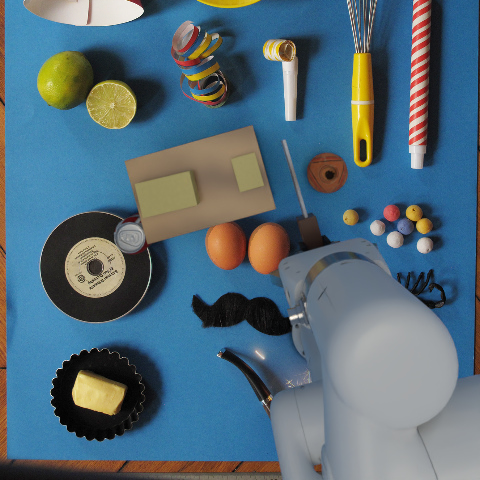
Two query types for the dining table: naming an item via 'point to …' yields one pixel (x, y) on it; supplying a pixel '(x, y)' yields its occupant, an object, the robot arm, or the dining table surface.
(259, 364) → the dining table surface
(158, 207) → the butter block
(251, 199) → the cutting board
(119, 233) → the soda can
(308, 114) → the dining table surface
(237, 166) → the butter slice
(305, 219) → the knife
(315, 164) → the pot
